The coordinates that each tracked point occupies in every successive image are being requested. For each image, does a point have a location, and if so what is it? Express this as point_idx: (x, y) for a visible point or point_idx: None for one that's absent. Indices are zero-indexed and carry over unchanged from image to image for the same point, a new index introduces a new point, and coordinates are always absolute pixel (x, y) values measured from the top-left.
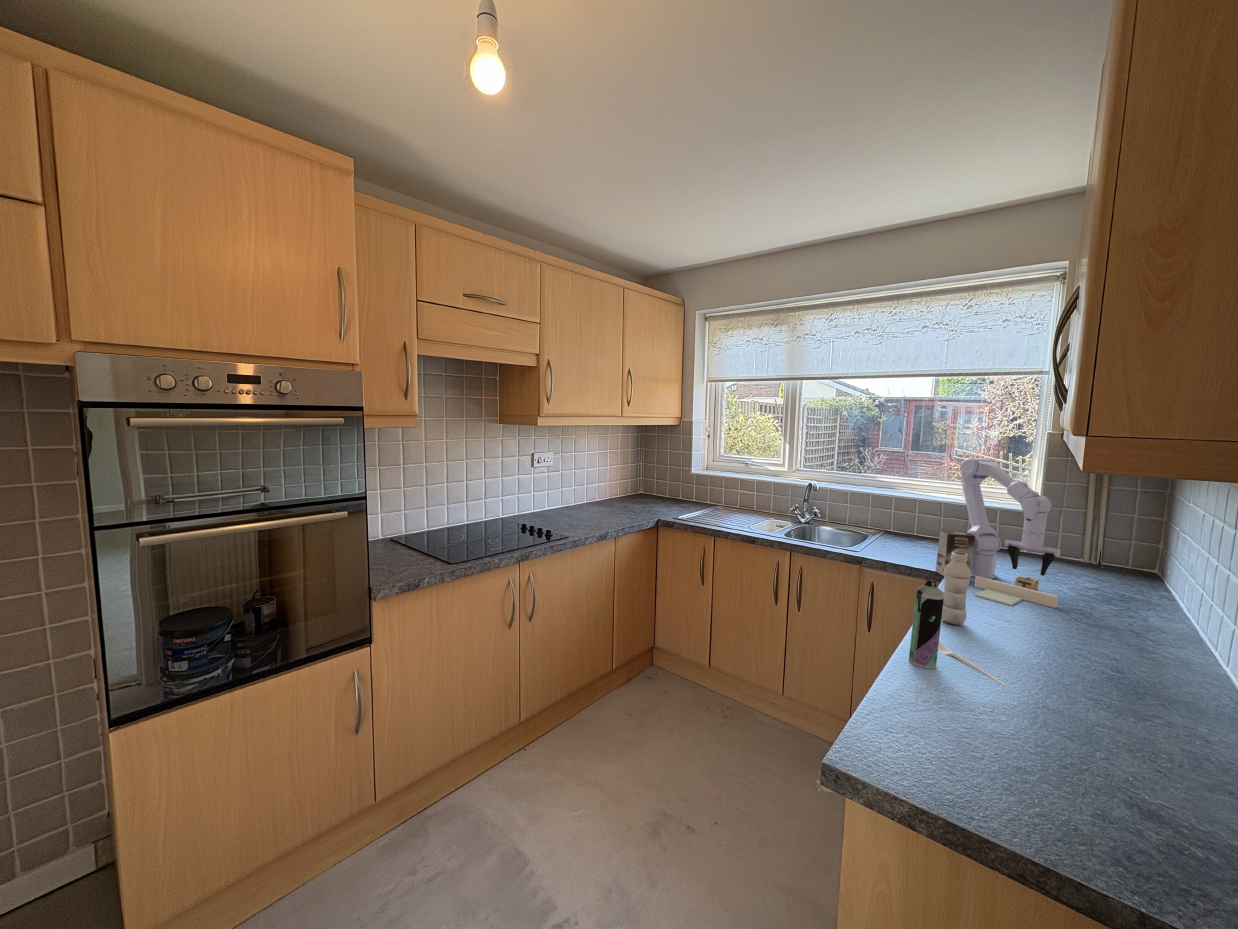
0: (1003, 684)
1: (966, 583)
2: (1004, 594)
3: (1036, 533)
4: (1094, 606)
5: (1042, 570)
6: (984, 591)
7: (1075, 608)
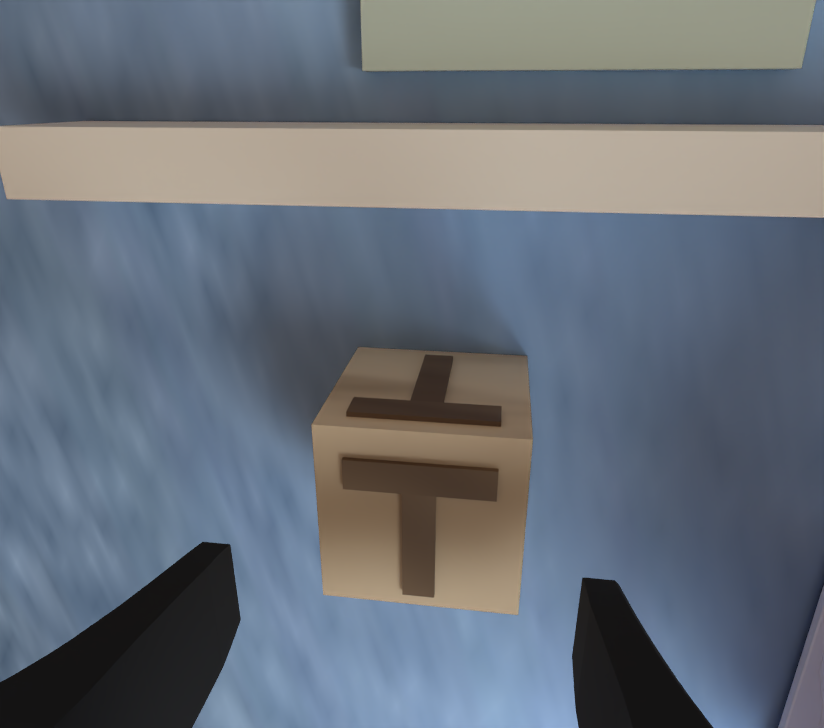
0: None
1: None
2: (560, 21)
3: None
4: (3, 521)
5: (163, 586)
6: None
7: (17, 314)
